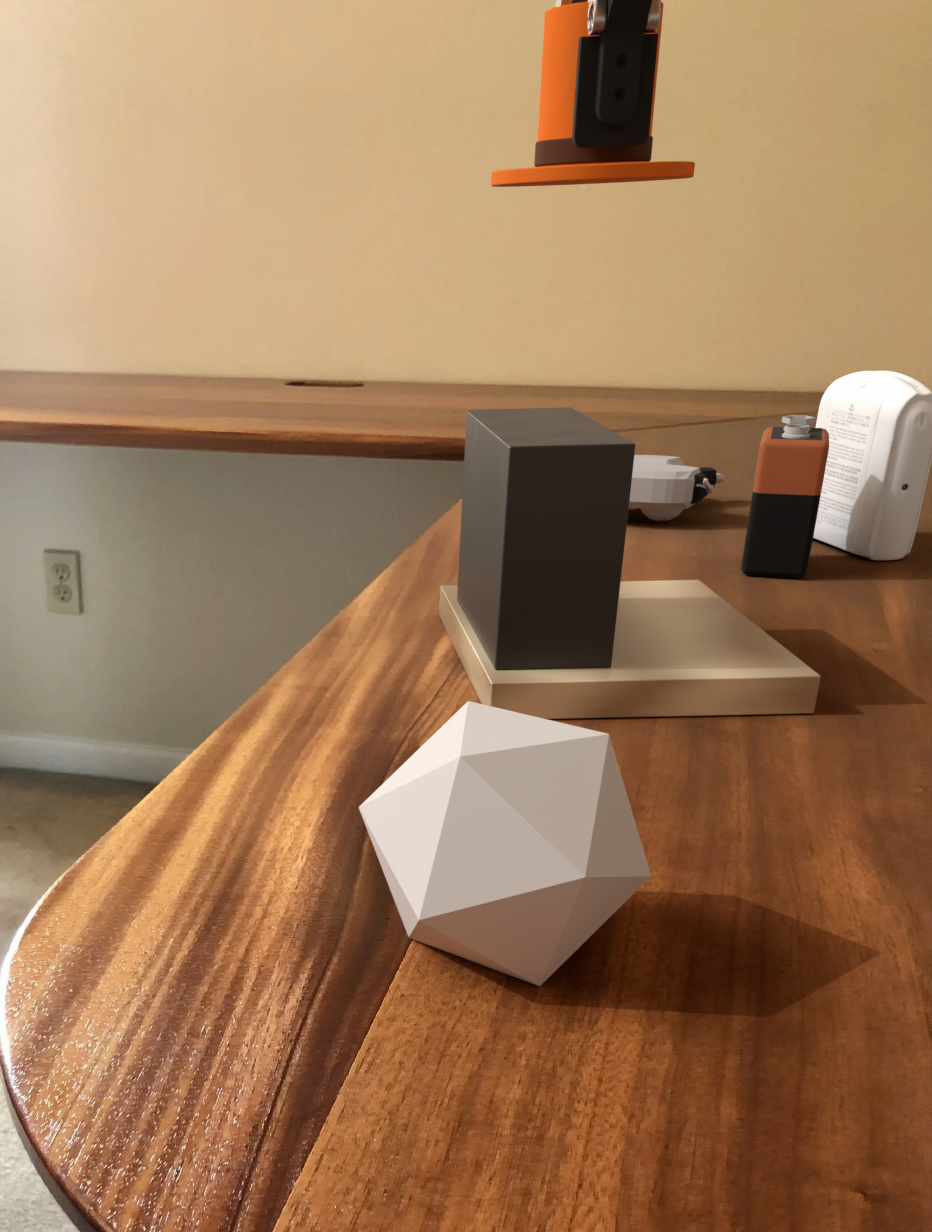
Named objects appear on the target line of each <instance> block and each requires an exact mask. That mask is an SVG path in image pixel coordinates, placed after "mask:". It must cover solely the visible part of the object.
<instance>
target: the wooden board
mask: <svg viewBox="0 0 932 1232" xmlns="http://www.w3.org/2000/svg"><path fill="white" fill-rule="evenodd" d="M457 591H458V584H449V585H448V584H444V585H442V584H441V585H440V587H439V606H438V616H439V615H440V616H439V618H441V619H440V621H441V620H442V621H441V623H442V622H443V623H442V625H443V627H444V629H445V631H446V633H447V635H448V638H449V639H450V642H451V643H452V645H453V648H454V649H455V652H456V655H457V656H458V658H459V661H460V662H461V664H462V666H463V668H464V671H465V673H466V675H467V676H468V677H467V678H469V681H470V683H471V685H472V687H473V689H474V692H475V693H476V695H477V698H478V700H479V701H480V704H483V705H487V706H492V707H496V708H500V709H505V710H509V711H513V712H517V713H522V714H526V715H530V716H535V717H539V718H543V719H547V720H559V719H560V720H565V719H566V720H567V719H568V720H570V719H612V718H613V719H614V718H615V719H617V718H660V717H661V718H662V717H666V718H667V717H709V716H752V715H753V716H756V715H760V716H761V715H799V714H801V715H804V714H806V715H807V714H808V715H809V714H814V713H815V709H816V704H817V700H818V694H819V688H820V683H821V678H822V676H821V675H820V674H819V673H818V672H816V671H815V670H814V669H813V668H811V667H810V666H809V665H807V663H805V662H804V661H803V660H801V659H800V658H798V657H797V656H796V655H794V654H793V652H791V651H790V650H788V649H787V647H785V646H783V645H782V644H781V643H779V642H778V641H777V640H776V639H774V638H773V637H772V636H771V635H770V634H768V633H767V632H766V631H765V630H763V629H762V628H761V627H759V626H758V625H757V624H756V623H754V622H753V621H752V620H750V619H749V618H748V617H746V615H744V613H742V612H741V611H739V610H738V609H737V608H735V607H734V606H733V605H731V604H730V603H729V602H727V600H725V599H724V598H722V597H721V596H720V595H719V594H718V593H717V592H715V590H713V589H711V588H710V587H708V586H707V585H706V584H705V583H703V582H702V581H701V580H700V579H675V580H674V579H672V580H671V579H670V580H669V579H667V580H664V579H663V580H627V581H626V580H625V581H624V580H623V581H622V580H621V582H620V591H619V600H618V609H617V618H616V627H615V637H614V646H613V655H612V664H611V667H610V668H567V669H521V670H495V668H494V667H493V665H492V663H491V661H490V659H489V658H488V656H487V654H486V652H485V650H484V648H483V647H482V645H481V643H480V641H479V639H478V637H477V636H476V634H475V632H474V630H473V628H472V627H471V625H470V623H469V621H468V619H467V617H466V616H465V614H464V612H463V610H462V608H461V607H460V605H459V603H458V601H457Z"/></svg>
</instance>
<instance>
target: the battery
mask: <svg viewBox="0 0 932 1232" xmlns="http://www.w3.org/2000/svg"><path fill="white" fill-rule="evenodd" d="M815 420H816V417H815V416H812V415H811V416H809V415H805V414H803V415H802V414H801V415H797V414H790V415H784V416H782V417H781V423H784V424H785V426H770V427H767V428H766V429H764V431H763V433H762V436H761V439H760V443H759V449H758V453H757V454H758V455H757V461H756V467H755V473H754V481H753V487H752V493H751V500H750V505H749V511H748V520H747V527H746V532H745V540H744V544H743V545H744V546H743V552H742V558H741V566H740V570H741V572H742V574H744V575H746V576H751V577H764V578H765V577H767V578H782V579H801V578H804V577H805V576H806V575H807V573H808V569H809V563H810V557H811V552H812V546H813V542H814V541H813V540H814V538H813V536H814V530H815V524H816V519H817V513H818V508H819V502H820V496H821V491H822V485H823V479H824V474H825V468H826V462H827V457H828V451H829V433H828V431H827V430H826V429H822V428H815V427H810V425H811V424H815V422H816V421H815Z"/></svg>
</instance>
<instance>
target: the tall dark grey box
mask: <svg viewBox="0 0 932 1232" xmlns="http://www.w3.org/2000/svg"><path fill="white" fill-rule="evenodd" d="M464 436H465V439H464V456H463V478H462V497H461V515H460V517H461V518H460V533H459V534H460V535H459V551H458V552H459V555H458V574H457V585H458V591H457V601H458V603H459V605H460V607H461V608H462V610H463V612H464V614H465V616H466V617H467V619H468V621H469V623H470V625H471V627H472V628H473V630H474V632H475V634H476V636H477V637H478V639H479V641H480V643H481V645H482V647H483V648H484V650H485V652H486V654H487V656H488V658H489V659H490V661H491V663H492V665H493V667H494V668H495V670H521V669H567V668H610V667H611V664H612V655H613V646H614V637H615V627H616V618H617V609H618V600H619V591H620V582H621V581H622V574H623V573H622V571H623V565H624V564H623V563H624V554H625V544H626V535H627V528H628V527H627V526H628V518H629V517H628V516H629V509H630V508H629V500H630V491H631V482H632V473H633V464H634V455H636V454H635V453H636V443H635V442H633V441H631V440H629V439H628V438H626V437H624V436H623V435H621V434H619V433H617V432H615V431H613V430H611V429H610V428H608V427H606V426H604V425H603V424H601V423H599V422H597V421H595V420H594V419H592V418H590V417H588V416H587V415H585V414H583V413H582V412H579V411H578V410H577V409H574V408H572V407H571V406H570V407H532V408H530V407H529V408H526V407H525V408H494V409H493V408H492V409H490V408H489V409H487V408H486V409H467V410H466V419H465V435H464Z"/></svg>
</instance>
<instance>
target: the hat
mask: <svg viewBox="0 0 932 1232" xmlns="http://www.w3.org/2000/svg"><path fill="white" fill-rule="evenodd" d="M663 16H664V2H662V1H661V16H660V22H659V26H658V29H657V31H656V32H655V33H644V34H658V45H657V55H656V66H655V77H654V88H653V99H652V109H651V120H650V131H649V137H648V139H647V141H646V142H645V143H643V144H642V145H637V146H618V147H593V148H577V147H576V146H575V145H574V144H573V142H572V130H573V116H574V101H575V87H576V72H577V57H578V43H579V38H580V37H588V36H598V35H589V34H588V29H587V17H588V2H581V3H574V4H568V5H563V6H558V7H555V6H554V7H552V8H549V9H547V10H545V12H544V19H543V21H544V22H543V39H542V58H541V73H540V90H539V107H538V123H537V124H538V125H537V141H536V142H535V144H534V145H535V146H534V161H533V163H534V164H533V165H534V167H520V168H507V169H497V170H494V171H491V172H490V173H491V175H490V186H491V187H493V188H509V187H510V188H512V187H513V188H514V187H549V186H572V185H574V186H575V185H595V184H596V185H597V184H616V183H618V184H619V183H635V182H637V183H638V182H654V181H667V180H668V181H669V180H671V181H672V180H683V179H684V180H685V179H692V178H694V176H695V167H696V163H695V162H694V161H690V160H689V161H687V160H672V161H671V160H667V161H663V160H661V161H652V153H653V142H654V137H653V122H654V112H655V100H656V92H657V91H656V89H657V80H658V70H659V59H660V47H661V37H662V27H663Z"/></svg>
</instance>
